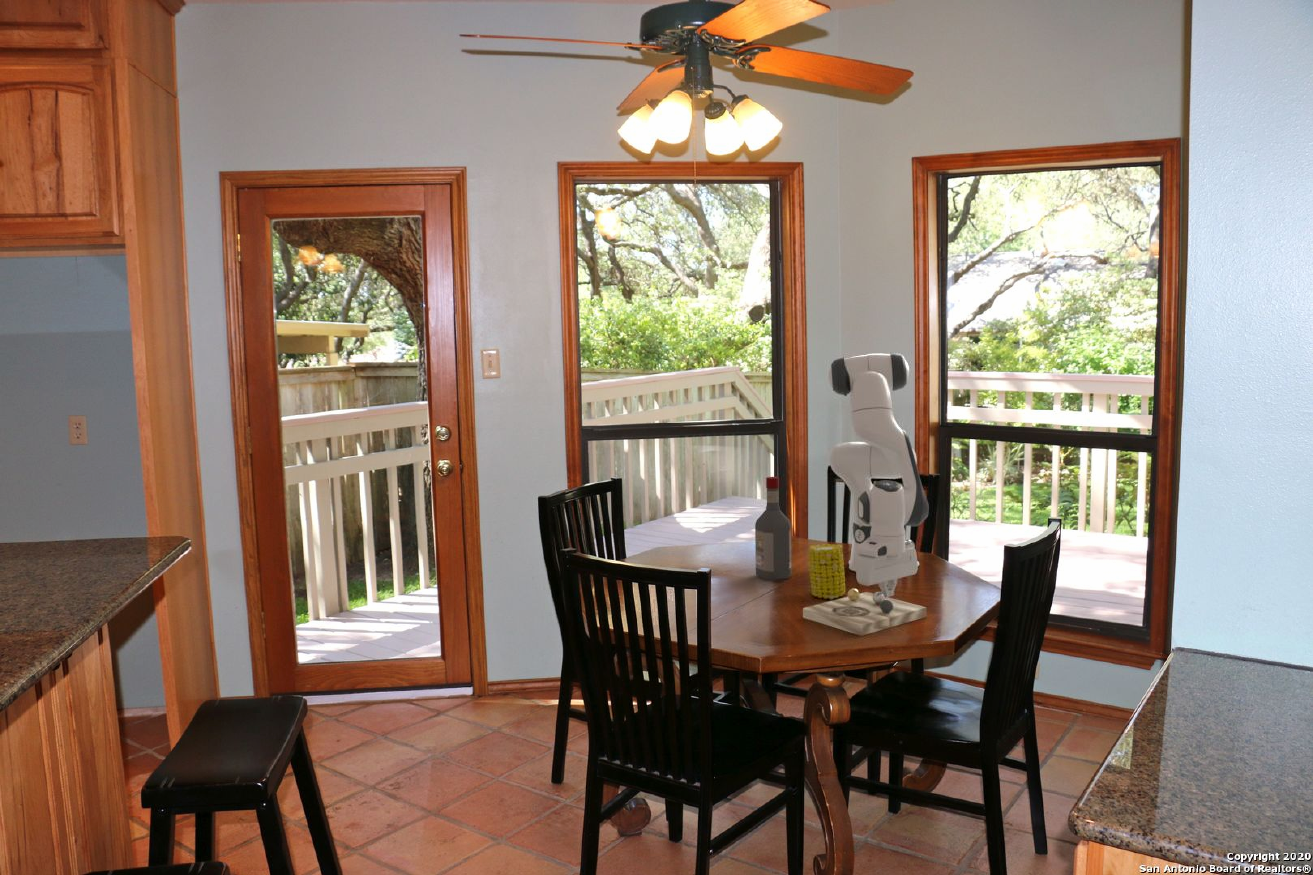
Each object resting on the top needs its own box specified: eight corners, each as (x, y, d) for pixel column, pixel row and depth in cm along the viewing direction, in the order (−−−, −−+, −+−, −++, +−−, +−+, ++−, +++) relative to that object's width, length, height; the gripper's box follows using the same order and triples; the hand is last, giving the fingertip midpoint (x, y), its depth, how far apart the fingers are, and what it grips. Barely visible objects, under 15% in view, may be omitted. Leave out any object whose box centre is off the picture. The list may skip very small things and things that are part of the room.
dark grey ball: (885, 609, 257) (886, 597, 256) (895, 612, 254) (895, 600, 254) (877, 612, 255) (877, 599, 254) (887, 615, 252) (887, 602, 252)
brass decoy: (853, 598, 268) (853, 586, 268) (862, 600, 266) (862, 588, 265) (844, 600, 266) (844, 588, 266) (853, 602, 264) (853, 590, 263)
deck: (866, 600, 274) (866, 591, 274) (926, 616, 258) (926, 607, 258) (802, 617, 260) (802, 608, 260) (861, 635, 244) (861, 625, 244)
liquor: (768, 582, 297) (766, 480, 293) (752, 575, 305) (751, 476, 302) (794, 578, 300) (793, 478, 297) (778, 571, 309) (777, 474, 305)
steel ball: (879, 599, 265) (877, 588, 264) (888, 601, 262) (886, 590, 261) (871, 604, 263) (869, 593, 262) (880, 607, 260) (878, 596, 259)
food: (825, 607, 274) (805, 600, 284) (860, 592, 279) (840, 585, 288) (813, 554, 272) (793, 549, 281) (848, 540, 276) (828, 535, 286)
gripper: (904, 536, 271) (904, 587, 272) (851, 547, 259) (852, 600, 260) (923, 540, 266) (923, 591, 267) (870, 552, 254) (870, 605, 255)
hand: (887, 596), depth 264 cm, fingers closed
